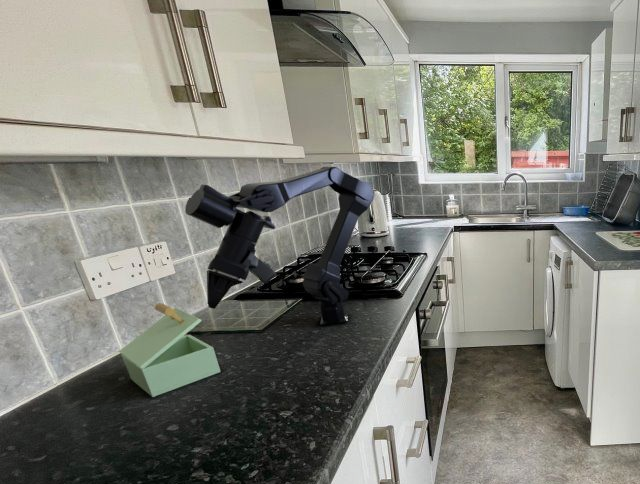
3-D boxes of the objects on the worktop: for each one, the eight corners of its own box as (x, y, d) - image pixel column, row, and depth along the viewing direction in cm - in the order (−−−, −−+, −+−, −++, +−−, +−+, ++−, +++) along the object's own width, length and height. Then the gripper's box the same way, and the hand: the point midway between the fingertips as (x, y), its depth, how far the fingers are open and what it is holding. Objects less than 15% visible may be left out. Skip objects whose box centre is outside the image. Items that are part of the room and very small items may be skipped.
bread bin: (197, 357, 90) (189, 334, 88) (220, 372, 84) (213, 347, 82) (131, 379, 81) (121, 354, 79) (152, 397, 75) (141, 370, 73)
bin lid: (178, 309, 85) (159, 294, 82) (201, 321, 79) (182, 305, 76) (121, 353, 79) (99, 338, 76) (142, 369, 73) (119, 354, 70)
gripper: (288, 252, 84) (258, 323, 82) (275, 256, 99) (249, 316, 97) (227, 227, 78) (192, 303, 76) (222, 235, 92) (193, 299, 90)
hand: (210, 306), depth 85 cm, fingers open, 9 cm apart
